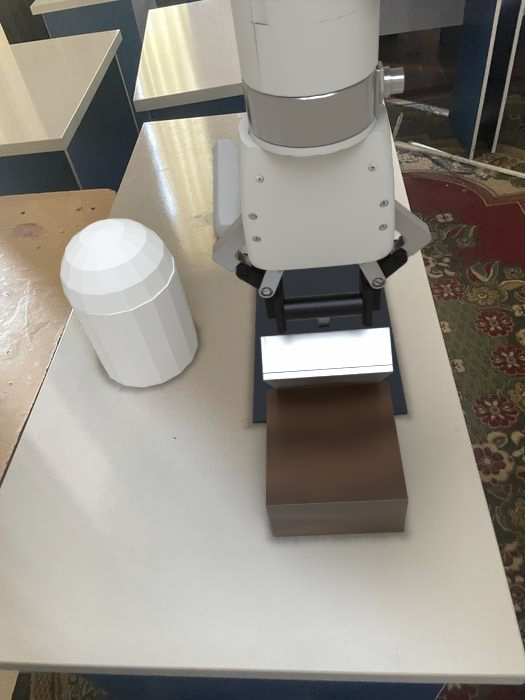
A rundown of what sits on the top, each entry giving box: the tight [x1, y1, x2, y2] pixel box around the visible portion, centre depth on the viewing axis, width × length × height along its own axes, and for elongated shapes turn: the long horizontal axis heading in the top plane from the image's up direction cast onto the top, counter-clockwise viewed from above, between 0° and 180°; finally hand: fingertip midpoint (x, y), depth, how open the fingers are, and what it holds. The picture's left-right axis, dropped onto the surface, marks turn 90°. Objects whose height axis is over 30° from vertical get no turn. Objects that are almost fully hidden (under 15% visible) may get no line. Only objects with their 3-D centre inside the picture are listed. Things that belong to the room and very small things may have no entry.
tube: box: [211, 138, 242, 240], centre depth 96 cm, size 5×5×25 cm
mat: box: [252, 264, 408, 424], centre depth 78 cm, size 36×18×1 cm, turn 179°
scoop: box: [261, 292, 393, 389], centre depth 52 cm, size 19×11×6 cm
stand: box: [265, 382, 409, 538], centre depth 59 cm, size 14×13×7 cm
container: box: [59, 218, 199, 389], centre depth 70 cm, size 14×13×20 cm
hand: (323, 316), depth 46 cm, fingers closed on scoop, 6 cm apart
